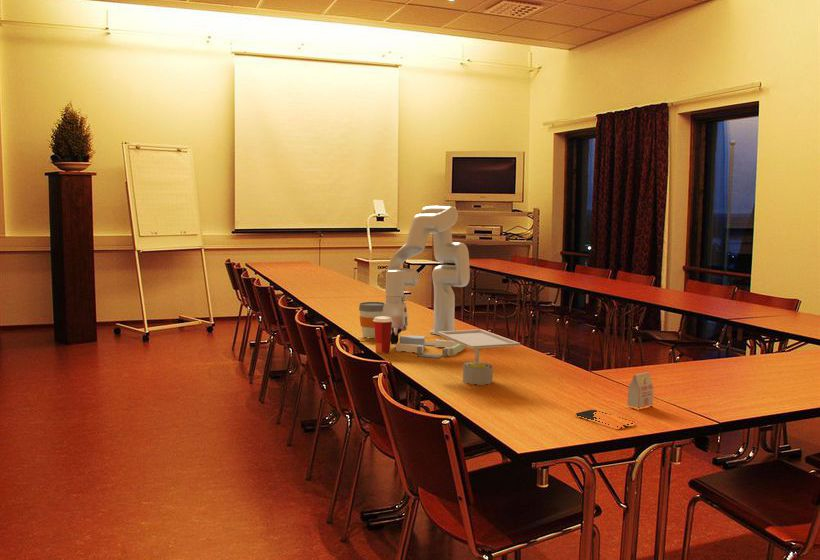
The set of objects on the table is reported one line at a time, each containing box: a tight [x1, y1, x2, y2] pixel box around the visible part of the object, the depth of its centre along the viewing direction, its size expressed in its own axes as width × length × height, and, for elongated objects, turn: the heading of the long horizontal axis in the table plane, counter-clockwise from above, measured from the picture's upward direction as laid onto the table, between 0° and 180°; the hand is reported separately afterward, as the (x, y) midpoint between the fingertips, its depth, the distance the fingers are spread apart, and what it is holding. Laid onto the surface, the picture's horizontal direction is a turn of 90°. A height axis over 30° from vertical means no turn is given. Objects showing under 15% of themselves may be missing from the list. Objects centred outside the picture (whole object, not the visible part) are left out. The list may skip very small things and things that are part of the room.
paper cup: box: [373, 316, 393, 354], centre depth 284 cm, size 8×8×14 cm
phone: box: [575, 409, 636, 427], centre depth 195 cm, size 8×1×15 cm
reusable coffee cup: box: [358, 301, 385, 339], centre depth 319 cm, size 13×13×15 cm
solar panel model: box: [437, 328, 521, 386], centre depth 237 cm, size 28×17×15 cm, turn 20°
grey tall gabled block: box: [627, 371, 654, 408], centre depth 208 cm, size 4×7×10 cm, turn 126°
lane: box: [395, 338, 466, 359], centre depth 290 cm, size 29×24×3 cm
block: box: [399, 335, 426, 351], centre depth 293 cm, size 6×10×5 cm, turn 88°
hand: (394, 343), depth 296 cm, fingers closed
